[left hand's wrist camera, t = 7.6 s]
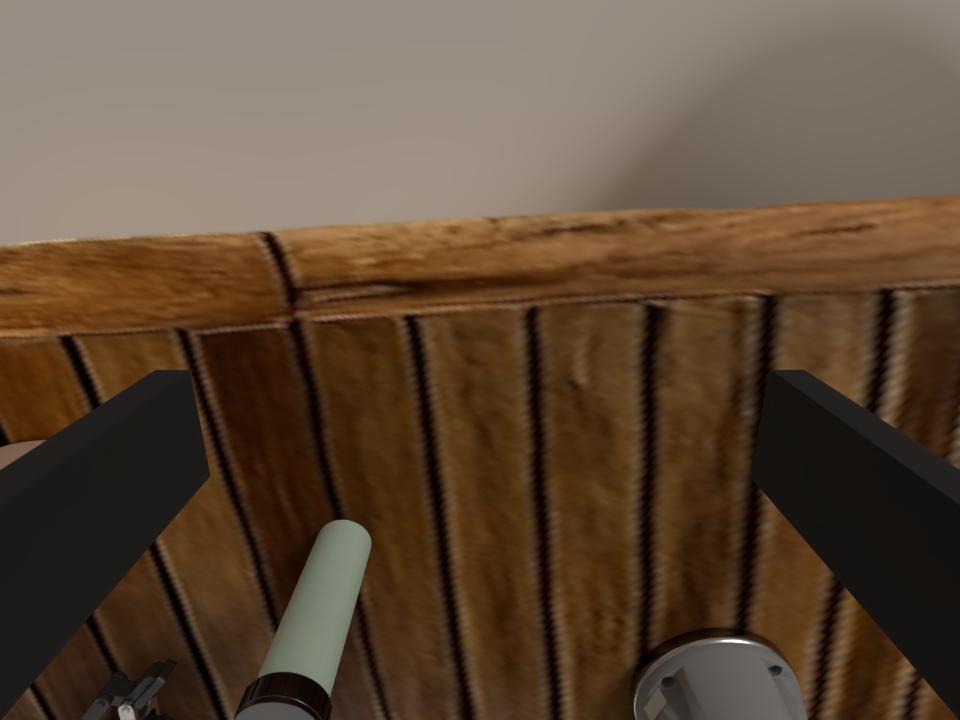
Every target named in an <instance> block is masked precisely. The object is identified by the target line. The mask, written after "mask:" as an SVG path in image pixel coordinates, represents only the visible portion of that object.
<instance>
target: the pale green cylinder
mask: <svg viewBox="0 0 960 720" xmlns="http://www.w3.org/2000/svg"><path fill="white" fill-rule="evenodd" d="M370 550H371V538H370V536H369V534H368V532H367V531H366V530H365V529H364V528H363V527H362V526H361V525H359V524H358V523H355V522H353V521H349V520H336V521H332V522H330V523H328V524H326V525H325V526H324V527H323V528H322V529H321V530H320V532H319V534H318V536H317V539H316V541H315V543H314V546H313V548H312V550H311V553H310V555H309V557H308V560H307V562H306V564H305V567H304V569H303V571H302V574H301V576H300V578H299V581H298V583H297V586H296V588H295V590H294V593H293V595H292V597H291V600H290V602H289V604H288V607H287V609H286V611H285V614H284V616H283V618H282V621H281V623H280V625H279V628H278V630H277V633H276V635H275V637H274V640H273V642H272V644H271V647H270V649H269V651H268V654H267V656H266V658H265V661H264V663H263V665H262V668H261V670H260V673H259V675H258V677H261V676H264V675H266V674H269V673H274V672H293V673H297V674H301V675H304V676H306V677H309V678H311V679H313V680H314V681H316V682H317V683H318V684H320V685H321V686H322V687H323V688H324V689H325V691H326V692H327V693H328V694H329V698H330V694H331V691H332V687H333V684H334V680H335V676H336V673H337V669H338V665H339V662H340V658H341V655H342V651H343V647H344V644H345V640H346V636H347V633H348V629H349V626H350V622H351V618H352V615H353V611H354V607H355V604H356V600H357V597H358V593H359V589H360V586H361V582H362V579H363V575H364V571H365V568H366V564H367V560H368V557H369V553H370ZM258 677H257V678H258Z"/></svg>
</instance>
